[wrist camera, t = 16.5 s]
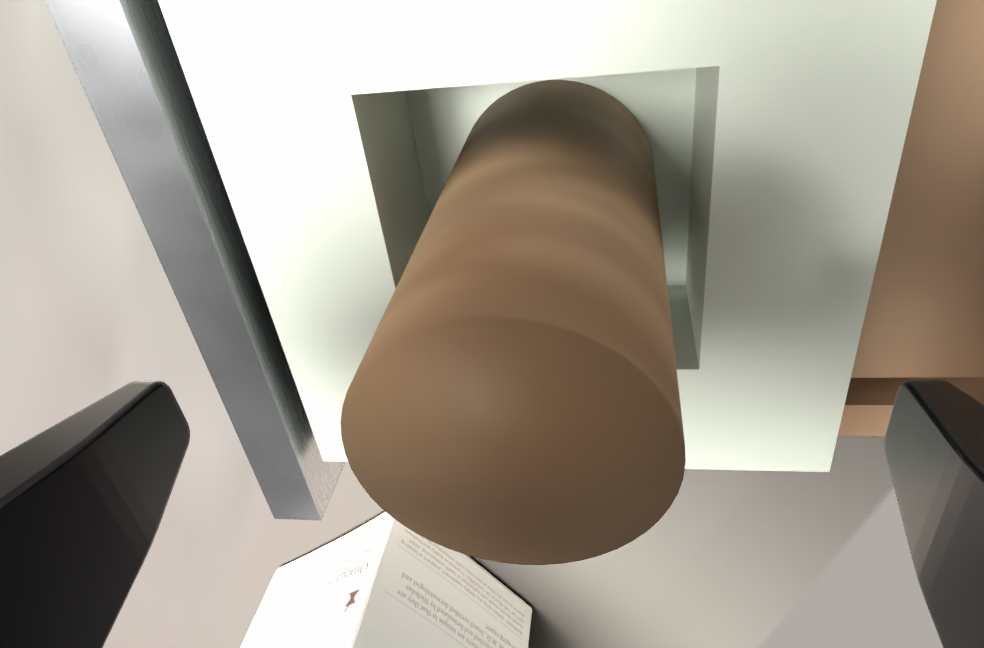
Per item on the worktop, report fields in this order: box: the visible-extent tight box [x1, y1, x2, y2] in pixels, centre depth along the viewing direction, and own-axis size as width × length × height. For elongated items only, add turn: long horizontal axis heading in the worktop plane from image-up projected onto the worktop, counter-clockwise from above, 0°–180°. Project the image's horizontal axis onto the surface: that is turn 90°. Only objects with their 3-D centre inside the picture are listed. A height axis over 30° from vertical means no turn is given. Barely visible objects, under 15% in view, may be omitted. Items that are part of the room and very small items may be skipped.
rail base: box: [44, 0, 984, 520], centre depth 13 cm, size 24×14×5 cm, turn 97°
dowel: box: [340, 80, 686, 565], centre depth 11 cm, size 4×4×8 cm
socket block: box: [158, 0, 937, 472], centre depth 13 cm, size 11×11×3 cm
